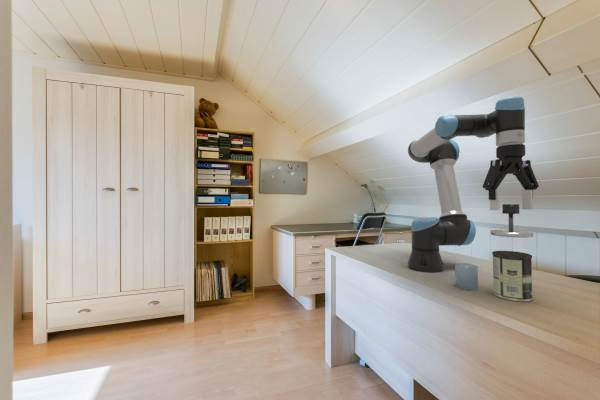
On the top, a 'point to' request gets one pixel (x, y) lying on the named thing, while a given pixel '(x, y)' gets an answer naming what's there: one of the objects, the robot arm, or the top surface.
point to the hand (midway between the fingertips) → (511, 210)
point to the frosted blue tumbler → (466, 276)
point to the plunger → (511, 223)
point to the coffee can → (512, 275)
